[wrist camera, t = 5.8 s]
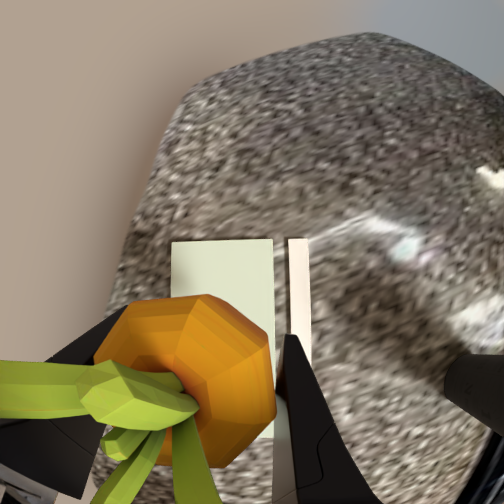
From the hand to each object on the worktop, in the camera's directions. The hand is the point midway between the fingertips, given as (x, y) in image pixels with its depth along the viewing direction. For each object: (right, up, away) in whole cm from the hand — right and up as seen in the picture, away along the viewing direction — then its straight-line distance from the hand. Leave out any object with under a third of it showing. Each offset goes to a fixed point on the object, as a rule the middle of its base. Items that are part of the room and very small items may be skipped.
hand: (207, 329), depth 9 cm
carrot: (0, -3, +7) cm, 8 cm away
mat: (-1, -5, +13) cm, 13 cm away
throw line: (+5, -4, +12) cm, 14 cm away
